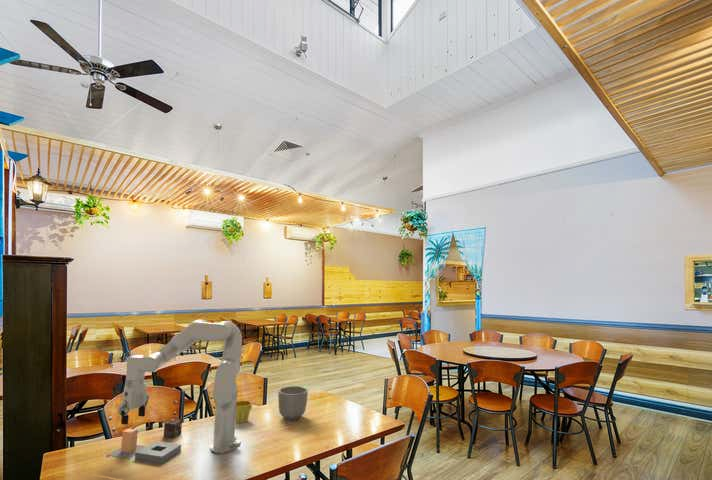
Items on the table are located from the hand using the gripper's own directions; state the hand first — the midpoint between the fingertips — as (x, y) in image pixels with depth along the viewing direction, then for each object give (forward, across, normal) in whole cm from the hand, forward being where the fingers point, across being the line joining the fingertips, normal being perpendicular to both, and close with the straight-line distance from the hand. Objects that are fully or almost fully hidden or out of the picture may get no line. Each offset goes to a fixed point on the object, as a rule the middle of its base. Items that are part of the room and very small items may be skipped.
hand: (133, 420), depth 171 cm
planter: (+17, +60, -55) cm, 83 cm away
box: (+15, +20, -6) cm, 25 cm away
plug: (+14, 0, +1) cm, 14 cm away
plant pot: (+16, +48, -29) cm, 58 cm away
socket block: (+15, 0, -15) cm, 21 cm away
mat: (+14, 0, +1) cm, 14 cm away
